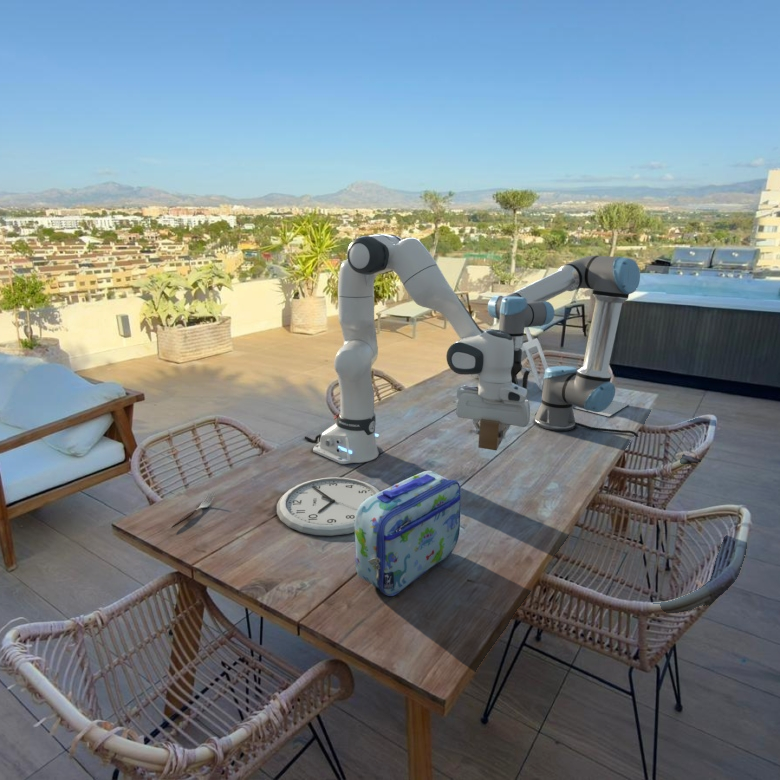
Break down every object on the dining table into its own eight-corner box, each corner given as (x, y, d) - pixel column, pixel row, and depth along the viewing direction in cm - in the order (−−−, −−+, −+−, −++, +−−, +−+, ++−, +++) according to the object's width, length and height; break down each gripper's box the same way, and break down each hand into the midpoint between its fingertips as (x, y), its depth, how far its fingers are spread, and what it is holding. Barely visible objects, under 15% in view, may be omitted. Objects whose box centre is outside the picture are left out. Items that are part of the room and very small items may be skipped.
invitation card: (608, 416, 214) (573, 407, 224) (608, 416, 214) (573, 408, 224) (628, 404, 229) (594, 396, 238) (628, 405, 229) (594, 397, 238)
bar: (497, 416, 171) (499, 392, 169) (513, 418, 170) (515, 394, 167) (478, 447, 147) (480, 420, 144) (496, 450, 145) (498, 423, 142)
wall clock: (392, 527, 129) (268, 531, 127) (391, 533, 130) (269, 537, 127) (383, 473, 158) (282, 475, 155) (383, 478, 158) (282, 480, 156)
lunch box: (383, 609, 104) (384, 516, 98) (348, 583, 111) (347, 495, 105) (463, 555, 122) (469, 473, 115) (429, 536, 129) (432, 458, 123)
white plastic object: (488, 419, 266) (468, 396, 241) (469, 346, 288) (449, 319, 263) (559, 395, 254) (545, 368, 229) (533, 321, 276) (519, 290, 251)
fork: (167, 528, 130) (166, 521, 130) (209, 498, 145) (208, 492, 144) (175, 530, 130) (174, 523, 129) (216, 500, 144) (216, 494, 143)
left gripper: (454, 387, 145) (452, 433, 149) (530, 397, 138) (525, 445, 142) (460, 381, 150) (457, 426, 154) (533, 390, 143) (528, 437, 147)
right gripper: (477, 347, 160) (472, 418, 167) (538, 353, 154) (531, 427, 161) (483, 342, 167) (478, 411, 174) (541, 348, 161) (534, 419, 167)
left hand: (490, 435), depth 148 cm, fingers closed on bar, 5 cm apart
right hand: (503, 418), depth 167 cm, fingers closed on bar, 5 cm apart
